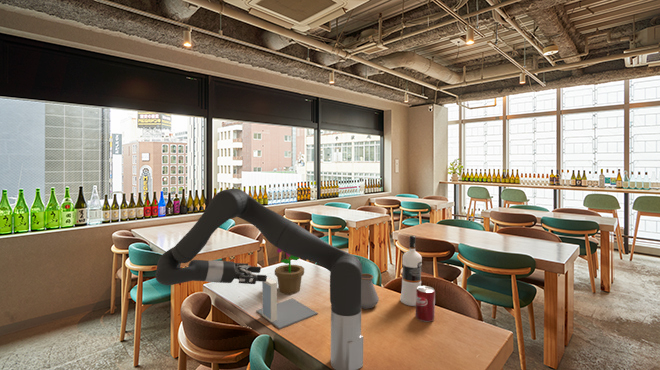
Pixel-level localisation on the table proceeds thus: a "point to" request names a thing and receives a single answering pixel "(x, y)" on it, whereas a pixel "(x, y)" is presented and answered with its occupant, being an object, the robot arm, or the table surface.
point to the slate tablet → (269, 299)
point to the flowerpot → (289, 276)
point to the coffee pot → (368, 292)
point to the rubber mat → (290, 313)
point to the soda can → (425, 303)
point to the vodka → (411, 274)
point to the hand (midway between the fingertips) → (263, 274)
